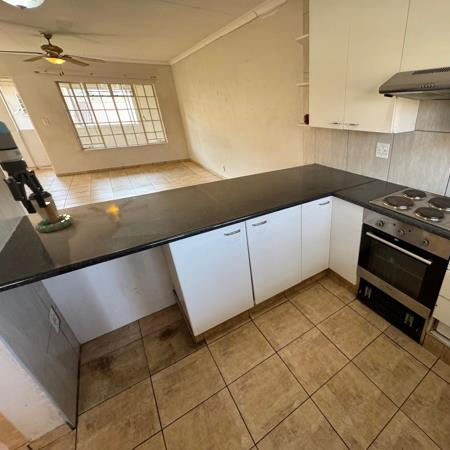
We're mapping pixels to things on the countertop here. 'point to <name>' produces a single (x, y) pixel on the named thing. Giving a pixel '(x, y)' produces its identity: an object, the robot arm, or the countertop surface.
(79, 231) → the countertop surface
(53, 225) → the hang ring
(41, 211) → the coffee cup
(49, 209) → the stand
